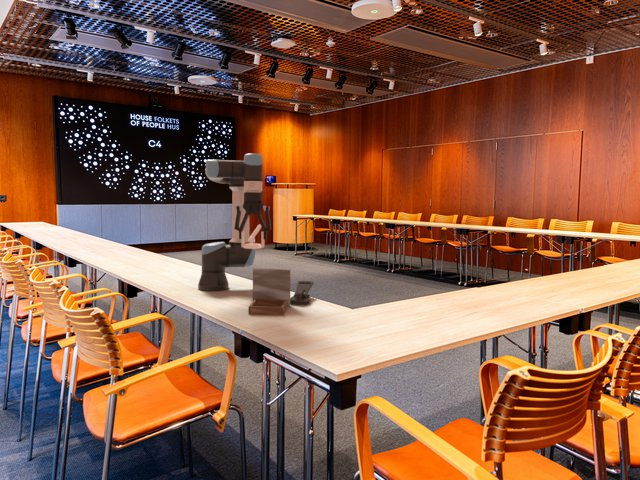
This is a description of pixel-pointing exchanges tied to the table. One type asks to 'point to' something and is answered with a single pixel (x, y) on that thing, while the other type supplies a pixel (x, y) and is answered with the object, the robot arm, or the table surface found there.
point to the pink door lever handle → (253, 240)
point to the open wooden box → (270, 291)
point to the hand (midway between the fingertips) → (252, 247)
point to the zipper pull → (301, 293)
